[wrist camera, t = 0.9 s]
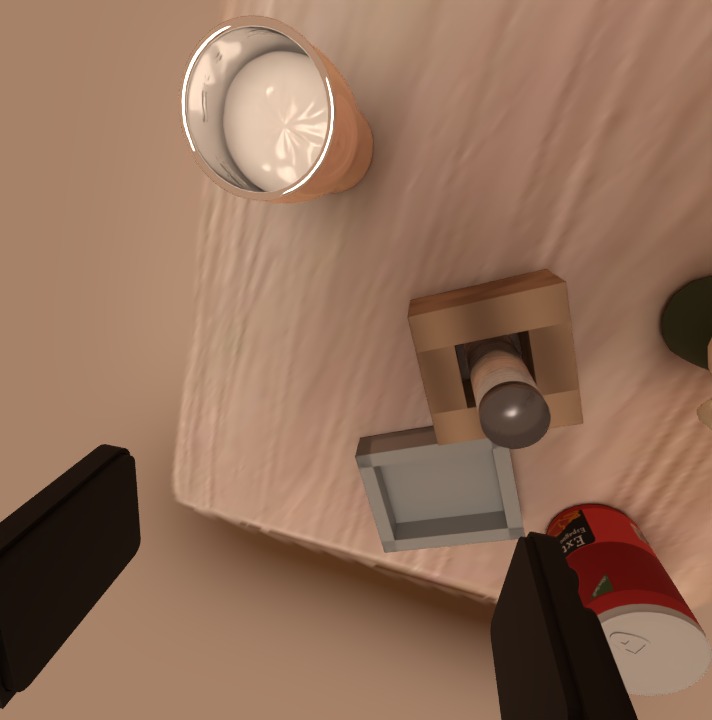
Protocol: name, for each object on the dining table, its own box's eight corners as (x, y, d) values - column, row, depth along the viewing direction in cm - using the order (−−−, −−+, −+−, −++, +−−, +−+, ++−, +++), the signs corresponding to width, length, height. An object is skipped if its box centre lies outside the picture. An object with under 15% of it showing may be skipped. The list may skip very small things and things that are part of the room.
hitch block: (546, 269, 32) (566, 282, 28) (563, 392, 36) (583, 423, 31) (410, 300, 35) (407, 317, 30) (437, 414, 38) (438, 445, 33)
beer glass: (353, 216, 33) (299, 234, 19) (268, 172, 33) (153, 159, 19) (397, 120, 31) (371, 61, 17) (305, 71, 30) (202, -28, 17)
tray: (500, 414, 37) (506, 433, 34) (518, 514, 40) (525, 538, 37) (360, 437, 40) (355, 456, 37) (387, 529, 43) (384, 552, 40)
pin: (507, 320, 34) (545, 382, 23) (514, 363, 35) (554, 443, 24) (459, 330, 35) (474, 395, 24) (468, 372, 36) (486, 453, 25)
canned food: (558, 492, 39) (605, 599, 28) (654, 513, 38) (737, 631, 28) (531, 559, 41) (565, 678, 31) (620, 580, 41) (684, 709, 31)
